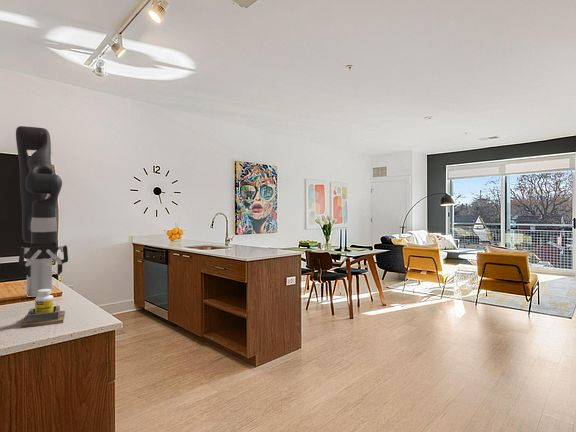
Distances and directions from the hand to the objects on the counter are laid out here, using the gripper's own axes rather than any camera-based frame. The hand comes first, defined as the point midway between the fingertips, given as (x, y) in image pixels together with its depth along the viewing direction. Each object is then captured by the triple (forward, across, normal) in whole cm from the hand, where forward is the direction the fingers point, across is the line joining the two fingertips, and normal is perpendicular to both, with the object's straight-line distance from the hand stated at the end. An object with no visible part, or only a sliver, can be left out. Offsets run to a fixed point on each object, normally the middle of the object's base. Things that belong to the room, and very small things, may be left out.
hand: (44, 275), depth 123 cm
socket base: (+16, 0, 0) cm, 16 cm away
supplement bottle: (+15, 0, 0) cm, 15 cm away
